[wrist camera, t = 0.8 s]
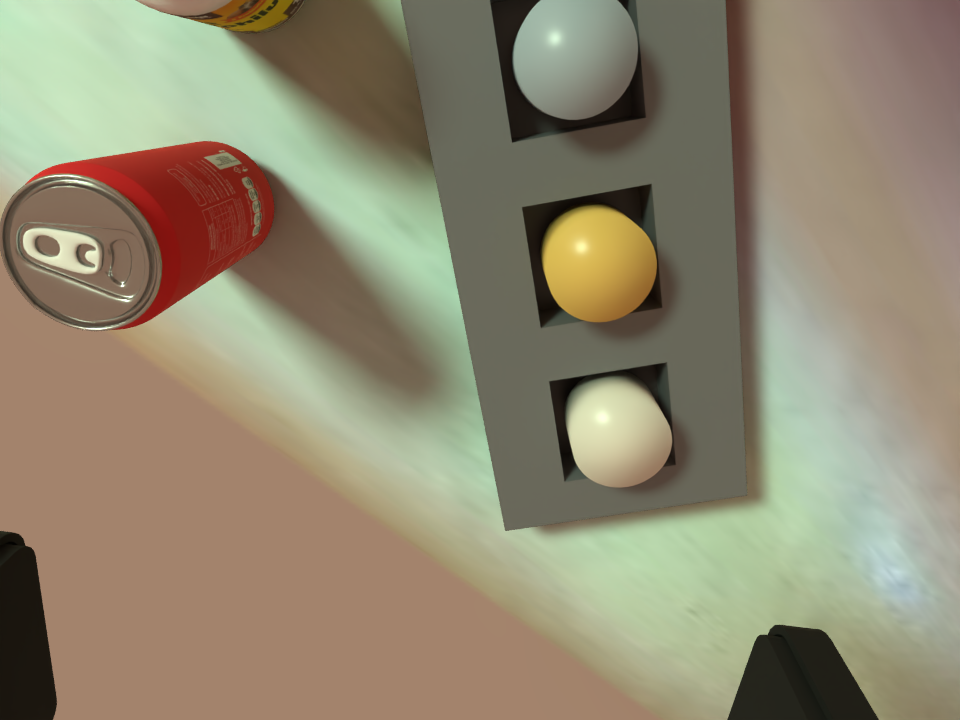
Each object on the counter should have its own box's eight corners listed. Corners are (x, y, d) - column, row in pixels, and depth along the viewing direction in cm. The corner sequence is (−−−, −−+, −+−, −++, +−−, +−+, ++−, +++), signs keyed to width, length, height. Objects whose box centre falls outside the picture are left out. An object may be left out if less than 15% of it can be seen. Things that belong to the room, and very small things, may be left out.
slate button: (614, -12, 27) (631, -27, 23) (625, 106, 28) (643, 107, 25) (503, 10, 27) (506, -1, 24) (520, 126, 28) (525, 129, 25)
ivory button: (650, 362, 32) (668, 391, 29) (657, 443, 34) (675, 479, 31) (558, 377, 33) (566, 408, 29) (570, 457, 34) (578, 494, 31)
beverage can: (273, 266, 32) (161, 355, 21) (163, 239, 32) (-10, 317, 21) (288, 156, 31) (175, 190, 19) (172, 126, 30) (-13, 144, 19)
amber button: (633, 193, 29) (651, 205, 26) (643, 290, 31) (661, 312, 28) (533, 211, 30) (539, 225, 27) (547, 306, 31) (554, 330, 28)
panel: (695, -104, 27) (719, -127, 24) (726, 464, 36) (747, 495, 33) (398, -42, 28) (389, -58, 25) (503, 498, 37) (505, 530, 34)
